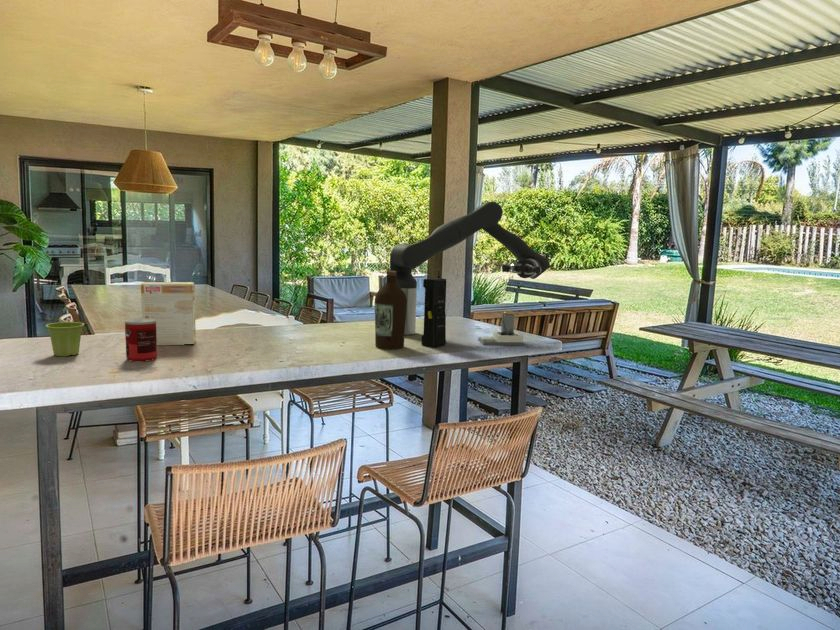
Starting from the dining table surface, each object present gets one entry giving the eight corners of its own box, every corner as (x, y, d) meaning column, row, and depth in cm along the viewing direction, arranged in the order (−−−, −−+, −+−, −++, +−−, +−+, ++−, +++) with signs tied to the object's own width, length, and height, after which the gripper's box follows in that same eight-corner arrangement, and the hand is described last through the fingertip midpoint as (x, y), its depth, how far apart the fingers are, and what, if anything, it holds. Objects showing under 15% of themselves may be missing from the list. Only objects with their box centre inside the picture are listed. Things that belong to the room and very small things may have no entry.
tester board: (483, 344, 204) (484, 335, 203) (478, 340, 212) (478, 331, 212) (523, 345, 205) (523, 336, 205) (515, 340, 214) (516, 331, 214)
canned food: (134, 355, 169) (133, 317, 168) (162, 356, 169) (161, 318, 168) (120, 361, 162) (119, 321, 160) (149, 362, 162) (148, 322, 160)
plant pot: (90, 351, 173) (89, 322, 172) (78, 358, 164) (76, 327, 163) (56, 351, 172) (54, 321, 170) (41, 358, 162) (39, 327, 161)
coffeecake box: (196, 341, 194) (195, 281, 191) (193, 345, 187) (192, 283, 184) (146, 341, 190) (144, 281, 187) (142, 346, 183) (140, 283, 180)
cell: (502, 340, 207) (503, 310, 206) (499, 338, 211) (501, 309, 210) (514, 340, 207) (516, 310, 206) (511, 338, 212) (513, 309, 210)
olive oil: (385, 342, 202) (387, 269, 199) (411, 346, 196) (414, 271, 193) (367, 347, 193) (368, 270, 190) (393, 351, 188) (395, 272, 184)
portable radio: (433, 348, 195) (436, 272, 191) (418, 345, 198) (421, 271, 195) (446, 345, 201) (449, 271, 197) (432, 342, 204) (435, 270, 201)
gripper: (510, 257, 235) (499, 258, 220) (546, 259, 229) (536, 260, 214) (509, 276, 236) (497, 278, 221) (544, 278, 230) (535, 281, 215)
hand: (517, 269), depth 218 cm, fingers open, 8 cm apart
